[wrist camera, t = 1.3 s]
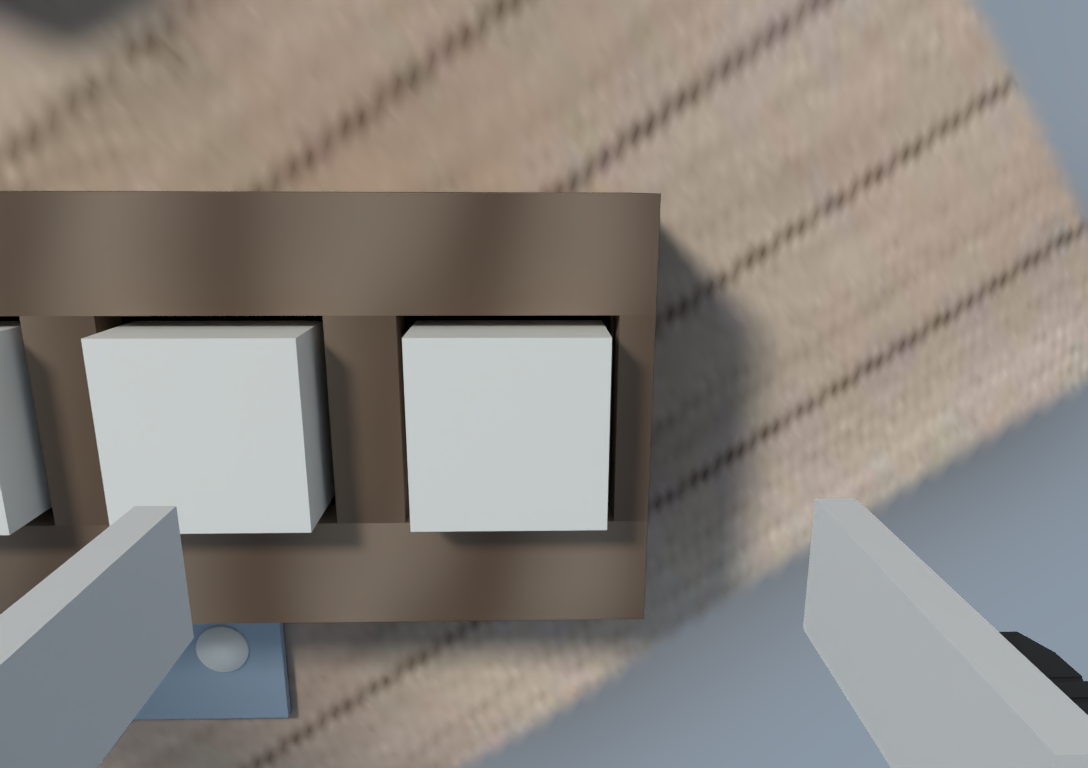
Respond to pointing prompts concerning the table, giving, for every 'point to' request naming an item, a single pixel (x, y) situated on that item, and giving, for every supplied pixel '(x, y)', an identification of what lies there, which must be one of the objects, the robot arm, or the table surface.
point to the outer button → (507, 424)
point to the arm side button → (19, 438)
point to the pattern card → (225, 675)
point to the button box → (341, 381)
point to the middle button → (214, 422)
